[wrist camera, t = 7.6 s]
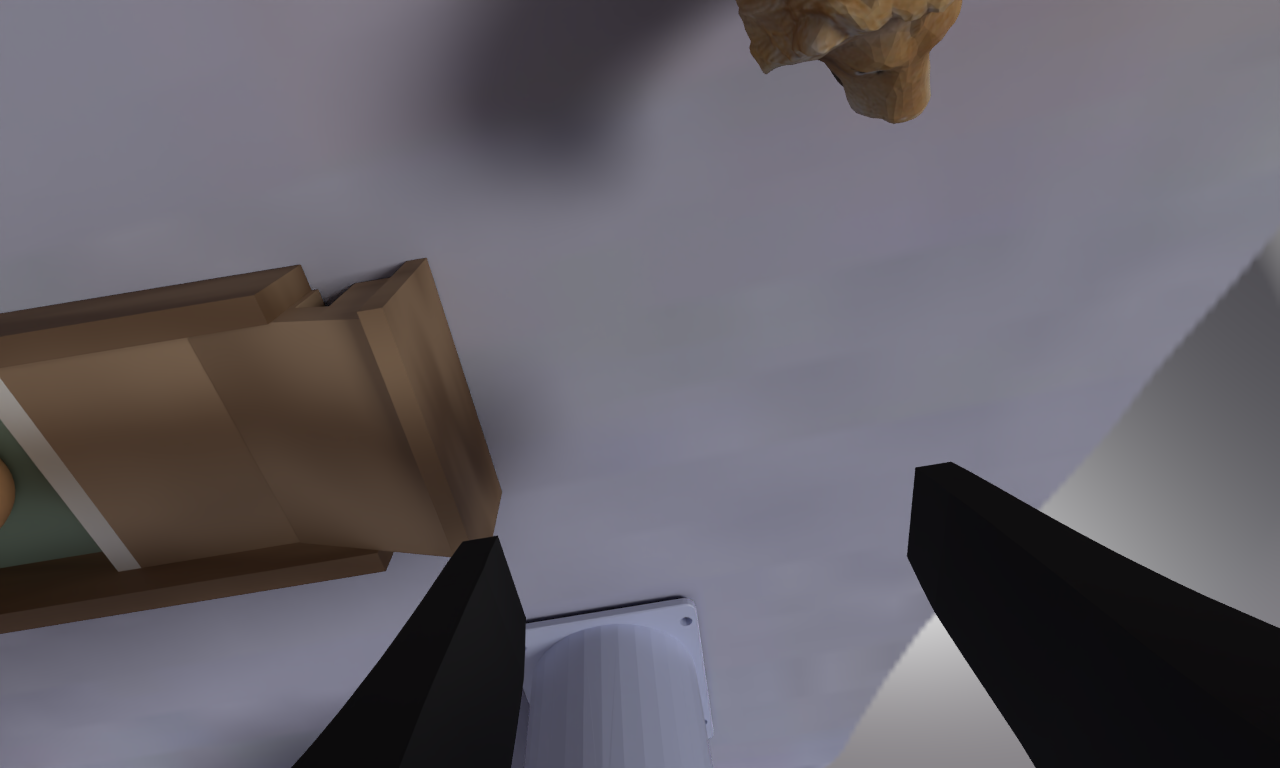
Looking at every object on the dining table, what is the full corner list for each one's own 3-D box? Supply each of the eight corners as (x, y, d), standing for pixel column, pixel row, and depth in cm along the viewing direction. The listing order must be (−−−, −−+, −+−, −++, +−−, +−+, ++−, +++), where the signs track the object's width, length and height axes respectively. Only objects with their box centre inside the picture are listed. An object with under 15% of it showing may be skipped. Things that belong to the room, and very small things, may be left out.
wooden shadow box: (504, 500, 22) (487, 588, 18) (-10, 584, 22) (-133, 689, 18) (422, 244, 17) (375, 291, 14) (-227, 350, 17) (-451, 426, 14)
